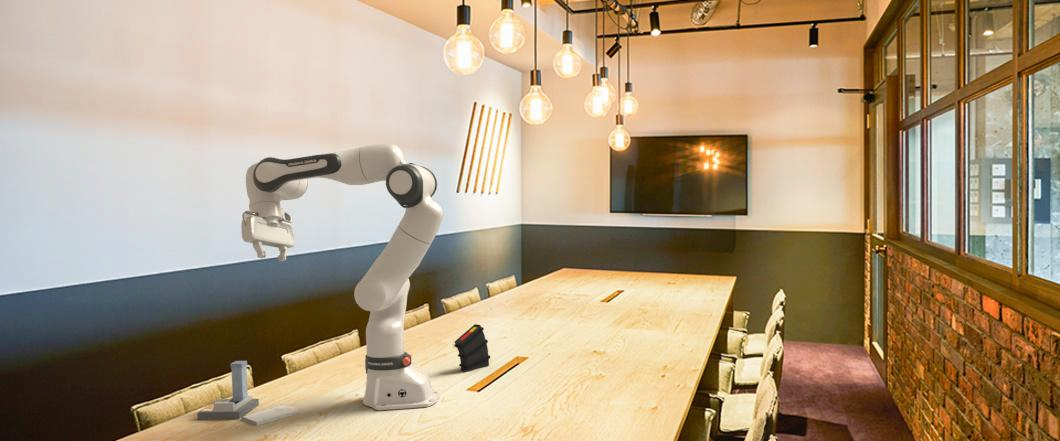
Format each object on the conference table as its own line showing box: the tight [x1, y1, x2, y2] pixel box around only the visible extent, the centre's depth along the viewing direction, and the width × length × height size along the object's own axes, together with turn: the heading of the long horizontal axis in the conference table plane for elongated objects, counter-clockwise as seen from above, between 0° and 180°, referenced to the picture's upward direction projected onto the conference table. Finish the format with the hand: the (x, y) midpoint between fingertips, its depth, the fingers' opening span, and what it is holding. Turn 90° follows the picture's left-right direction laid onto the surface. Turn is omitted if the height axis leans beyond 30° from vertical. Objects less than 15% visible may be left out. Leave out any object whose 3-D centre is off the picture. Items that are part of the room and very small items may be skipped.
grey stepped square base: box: [196, 395, 260, 420], centre depth 193 cm, size 12×12×4 cm
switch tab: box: [229, 360, 249, 402], centre depth 197 cm, size 3×3×11 cm
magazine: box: [453, 323, 491, 373], centre depth 234 cm, size 4×13×15 cm, turn 136°
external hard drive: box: [241, 404, 299, 427], centre depth 189 cm, size 2×8×12 cm
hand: (272, 259), depth 199 cm, fingers open, 8 cm apart
